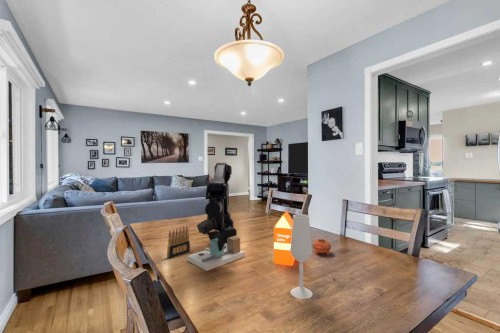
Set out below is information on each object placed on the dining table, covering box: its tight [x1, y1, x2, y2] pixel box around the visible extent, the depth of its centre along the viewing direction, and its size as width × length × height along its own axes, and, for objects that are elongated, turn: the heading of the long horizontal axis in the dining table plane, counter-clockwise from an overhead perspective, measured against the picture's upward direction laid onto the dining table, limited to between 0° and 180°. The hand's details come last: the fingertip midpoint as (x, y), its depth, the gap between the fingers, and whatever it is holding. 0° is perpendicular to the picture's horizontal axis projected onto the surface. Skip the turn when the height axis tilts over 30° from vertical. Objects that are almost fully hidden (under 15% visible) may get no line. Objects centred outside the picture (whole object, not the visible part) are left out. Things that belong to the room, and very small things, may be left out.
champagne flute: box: [290, 213, 313, 300], centre depth 74 cm, size 7×7×24 cm
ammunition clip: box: [166, 225, 191, 259], centre depth 106 cm, size 11×2×12 cm, turn 141°
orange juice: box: [273, 210, 296, 267], centre depth 99 cm, size 8×9×20 cm
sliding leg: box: [204, 238, 224, 257], centre depth 100 cm, size 4×10×7 cm, turn 45°
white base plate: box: [186, 235, 246, 272], centre depth 101 cm, size 20×14×8 cm
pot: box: [312, 238, 332, 256], centre depth 107 cm, size 8×8×7 cm
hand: (217, 249), depth 98 cm, fingers closed on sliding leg, 4 cm apart
